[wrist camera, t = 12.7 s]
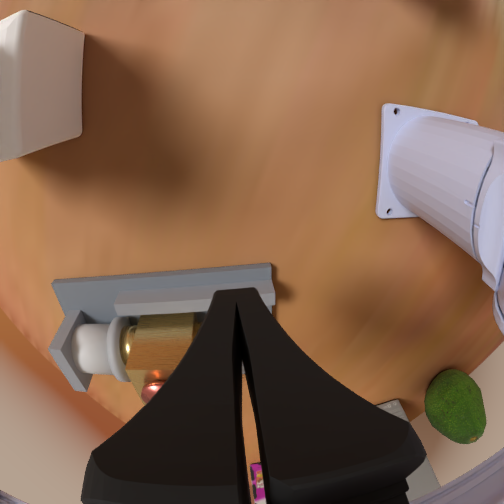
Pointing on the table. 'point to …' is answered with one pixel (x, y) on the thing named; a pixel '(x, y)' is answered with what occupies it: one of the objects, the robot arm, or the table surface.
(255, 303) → the robot arm
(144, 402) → the valve
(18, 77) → the medicine bottle
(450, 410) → the avocado
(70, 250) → the table surface
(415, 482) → the skincare box
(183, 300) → the grey piece
